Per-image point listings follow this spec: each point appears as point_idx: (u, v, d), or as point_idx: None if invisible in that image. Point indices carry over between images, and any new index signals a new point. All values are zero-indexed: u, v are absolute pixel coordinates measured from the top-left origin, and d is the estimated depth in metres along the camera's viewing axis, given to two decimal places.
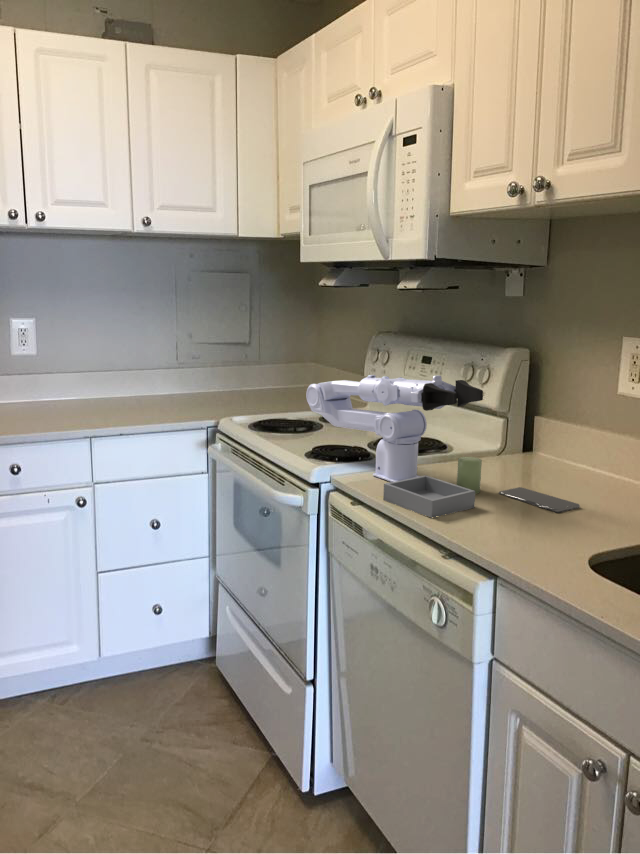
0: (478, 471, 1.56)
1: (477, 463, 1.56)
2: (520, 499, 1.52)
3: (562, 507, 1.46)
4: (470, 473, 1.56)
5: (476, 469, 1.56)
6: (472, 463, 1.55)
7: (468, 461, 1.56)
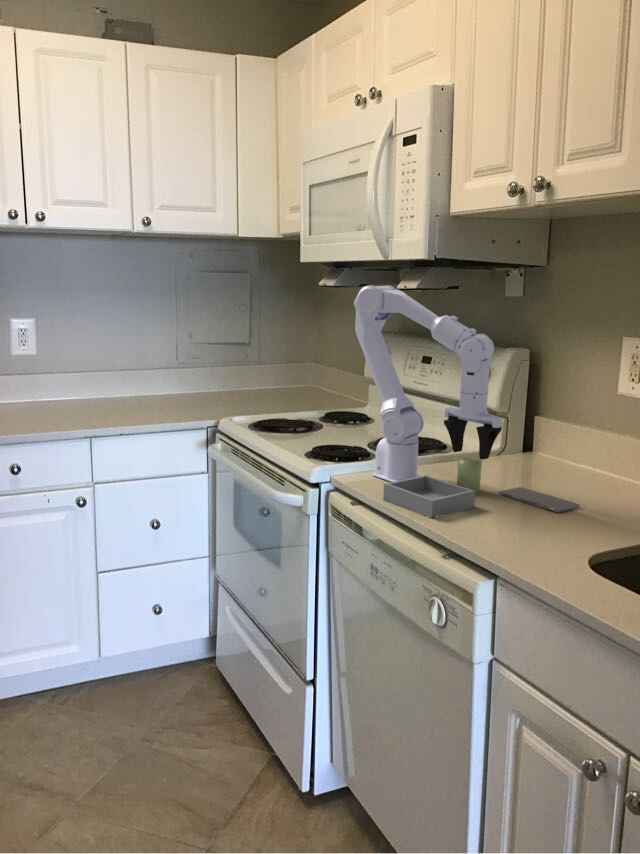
0: (478, 471, 1.56)
1: (477, 463, 1.56)
2: (520, 499, 1.52)
3: (562, 507, 1.46)
4: (470, 473, 1.56)
5: (476, 469, 1.56)
6: (472, 463, 1.55)
7: (468, 461, 1.56)
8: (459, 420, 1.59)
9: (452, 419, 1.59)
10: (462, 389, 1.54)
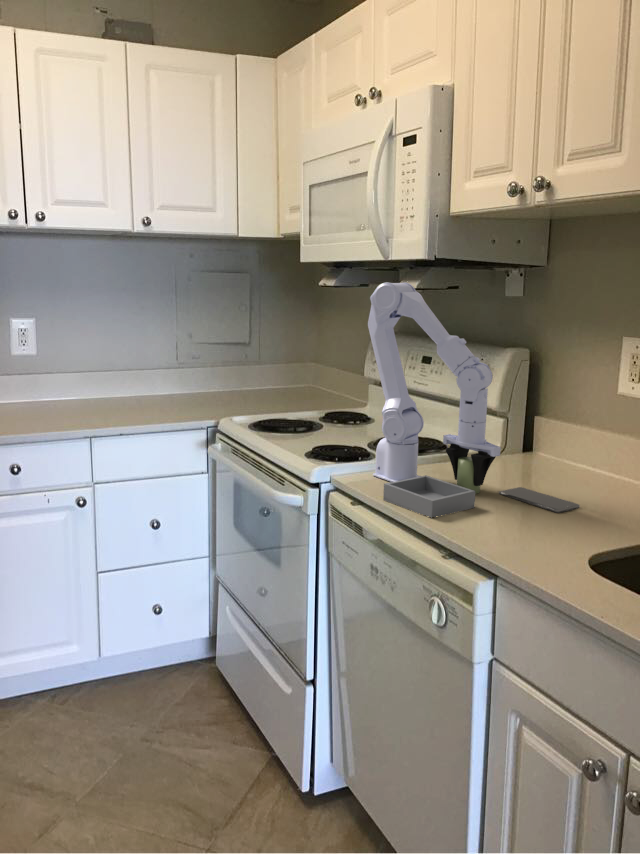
0: None
1: None
2: (520, 499, 1.52)
3: (562, 507, 1.46)
4: (470, 473, 1.56)
5: None
6: (472, 463, 1.55)
7: (468, 461, 1.56)
8: (461, 448, 1.60)
9: (454, 447, 1.60)
10: (460, 417, 1.55)
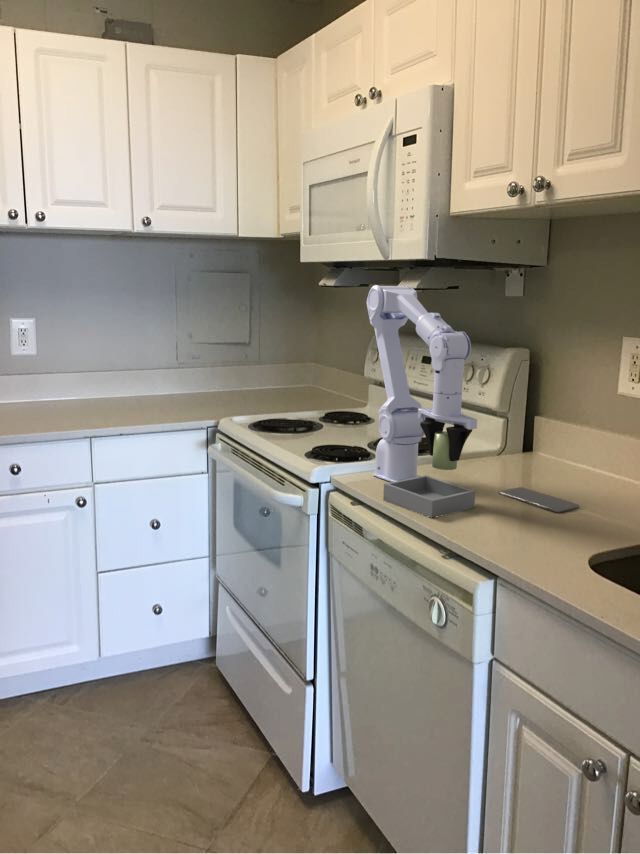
0: None
1: None
2: (520, 499, 1.52)
3: (562, 507, 1.46)
4: (447, 448, 1.48)
5: None
6: None
7: (445, 435, 1.48)
8: (436, 422, 1.52)
9: (429, 421, 1.52)
10: None
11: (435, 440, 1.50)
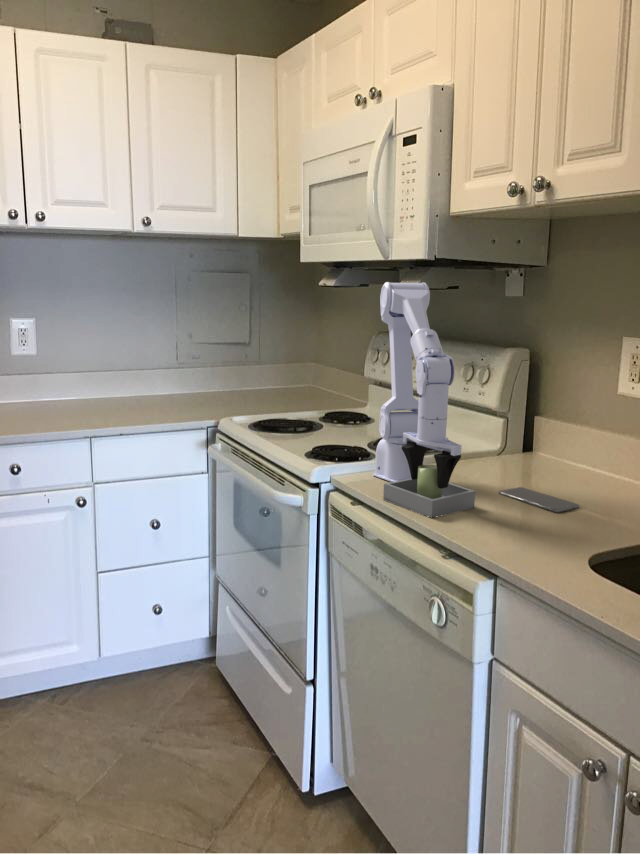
0: None
1: None
2: (520, 499, 1.52)
3: (562, 507, 1.46)
4: (431, 483, 1.46)
5: None
6: (432, 471, 1.46)
7: (428, 469, 1.46)
8: (418, 446, 1.50)
9: (410, 444, 1.50)
10: None
11: (419, 474, 1.48)
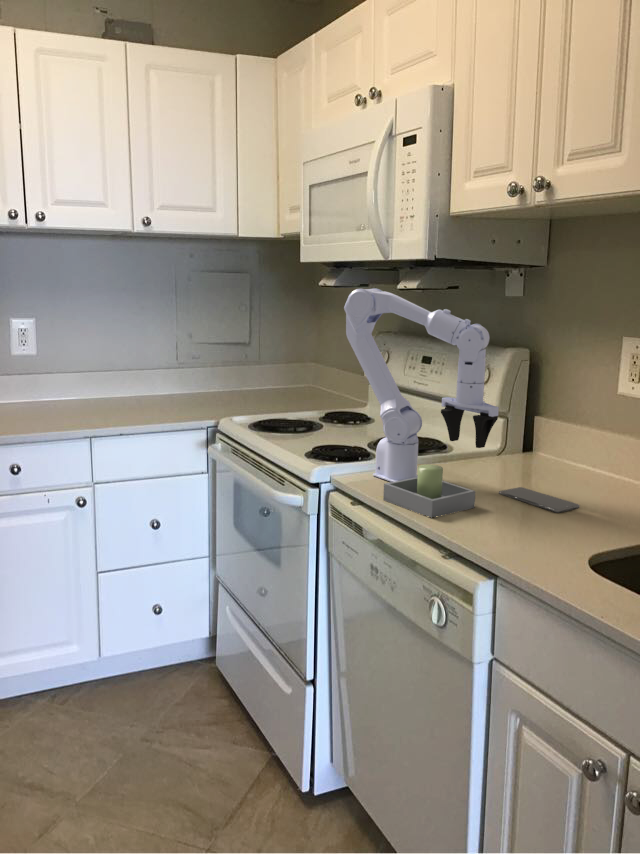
0: (439, 480, 1.47)
1: (438, 471, 1.46)
2: (520, 499, 1.53)
3: (562, 507, 1.46)
4: (431, 483, 1.46)
5: (437, 478, 1.46)
6: (432, 472, 1.46)
7: (428, 469, 1.46)
8: (456, 409, 1.61)
9: (449, 408, 1.61)
10: (460, 379, 1.55)
11: (419, 474, 1.48)
